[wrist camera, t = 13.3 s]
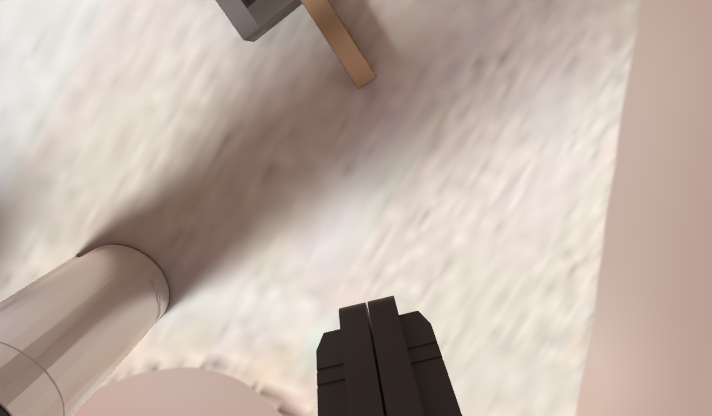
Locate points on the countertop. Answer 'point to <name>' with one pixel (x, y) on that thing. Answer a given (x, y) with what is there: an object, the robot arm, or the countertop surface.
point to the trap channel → (273, 3)
